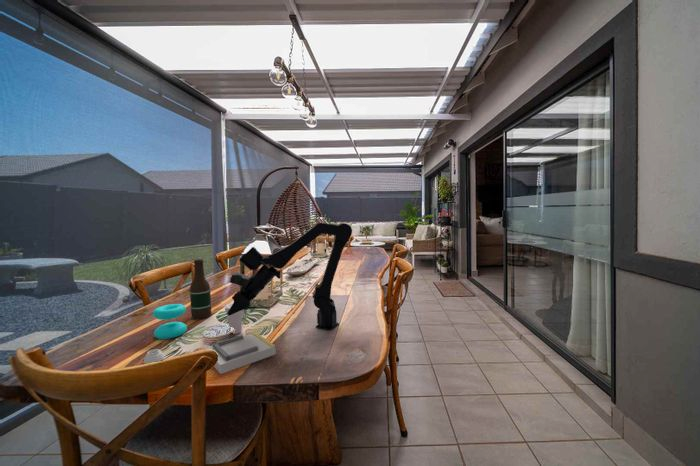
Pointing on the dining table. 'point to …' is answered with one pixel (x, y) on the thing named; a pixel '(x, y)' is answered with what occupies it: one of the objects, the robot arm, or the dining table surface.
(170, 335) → the donuts
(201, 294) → the beer bottle
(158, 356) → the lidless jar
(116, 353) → the dining table surface
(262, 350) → the dock
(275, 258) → the robot arm
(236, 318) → the smoothie
